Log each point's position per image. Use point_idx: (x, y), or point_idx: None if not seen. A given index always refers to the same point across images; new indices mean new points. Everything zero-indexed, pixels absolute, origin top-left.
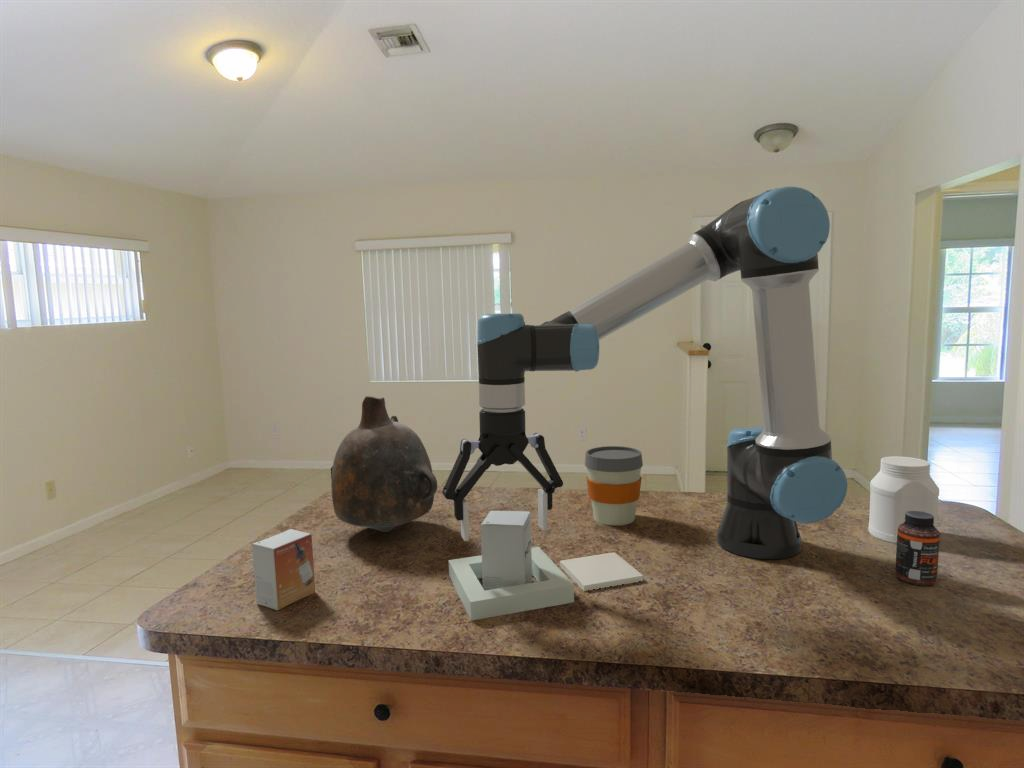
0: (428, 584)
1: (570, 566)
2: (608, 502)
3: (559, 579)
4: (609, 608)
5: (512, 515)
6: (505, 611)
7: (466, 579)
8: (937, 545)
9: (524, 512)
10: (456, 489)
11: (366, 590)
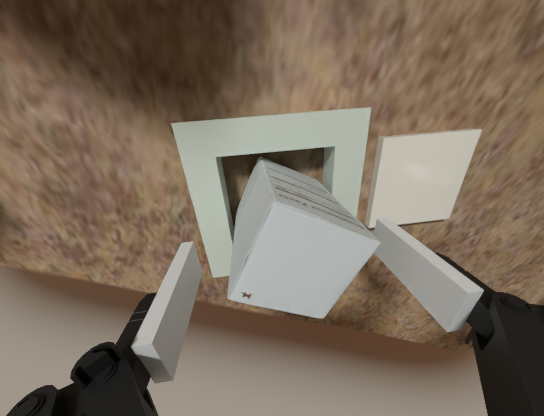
0: (145, 146)
1: (386, 166)
2: None
3: None
4: (367, 262)
5: (322, 266)
6: None
7: (209, 217)
8: None
9: (363, 248)
10: (87, 410)
11: (22, 139)
